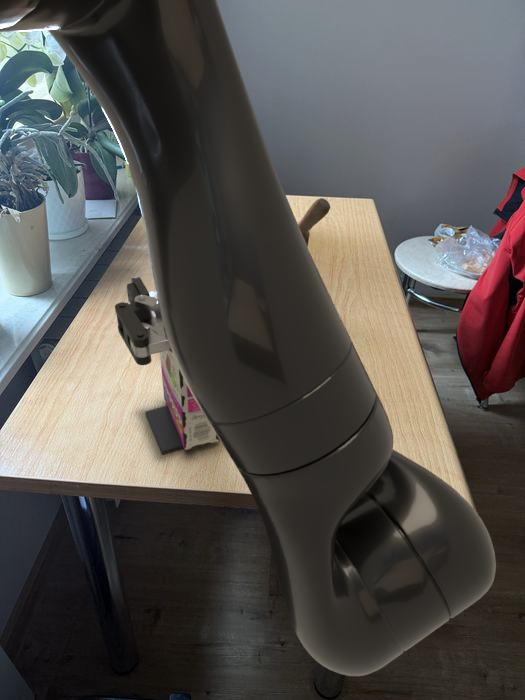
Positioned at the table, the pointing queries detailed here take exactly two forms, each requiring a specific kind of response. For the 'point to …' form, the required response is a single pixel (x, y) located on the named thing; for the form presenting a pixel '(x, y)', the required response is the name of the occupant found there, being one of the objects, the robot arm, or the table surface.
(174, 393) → the candy bar box
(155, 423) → the mat
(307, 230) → the mortar and pestle
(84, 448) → the table surface
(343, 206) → the table surface
